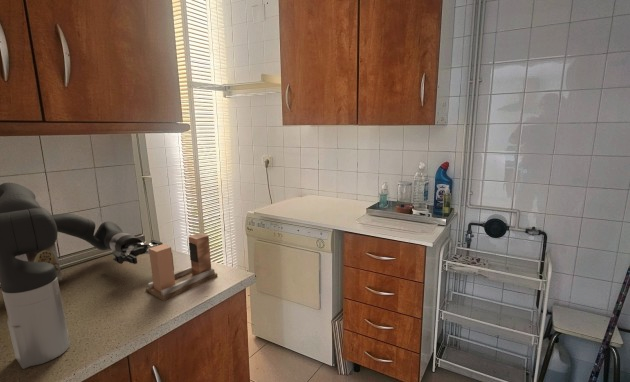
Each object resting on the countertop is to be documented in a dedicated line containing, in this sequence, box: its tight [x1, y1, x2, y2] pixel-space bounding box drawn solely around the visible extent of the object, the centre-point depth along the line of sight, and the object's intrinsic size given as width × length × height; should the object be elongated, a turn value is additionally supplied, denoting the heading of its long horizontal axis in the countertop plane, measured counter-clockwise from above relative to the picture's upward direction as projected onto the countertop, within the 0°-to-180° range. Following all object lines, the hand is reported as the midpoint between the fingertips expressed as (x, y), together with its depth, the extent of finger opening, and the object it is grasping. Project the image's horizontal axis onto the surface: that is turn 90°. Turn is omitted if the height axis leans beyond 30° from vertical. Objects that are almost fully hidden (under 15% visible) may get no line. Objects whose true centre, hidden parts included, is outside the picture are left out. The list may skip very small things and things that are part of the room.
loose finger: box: [148, 243, 175, 292], centre depth 101 cm, size 5×4×13 cm
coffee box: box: [15, 242, 63, 282], centre depth 104 cm, size 9×6×16 cm
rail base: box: [145, 232, 218, 302], centre depth 105 cm, size 19×10×14 cm, turn 143°
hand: (149, 256), depth 105 cm, fingers open, 8 cm apart
